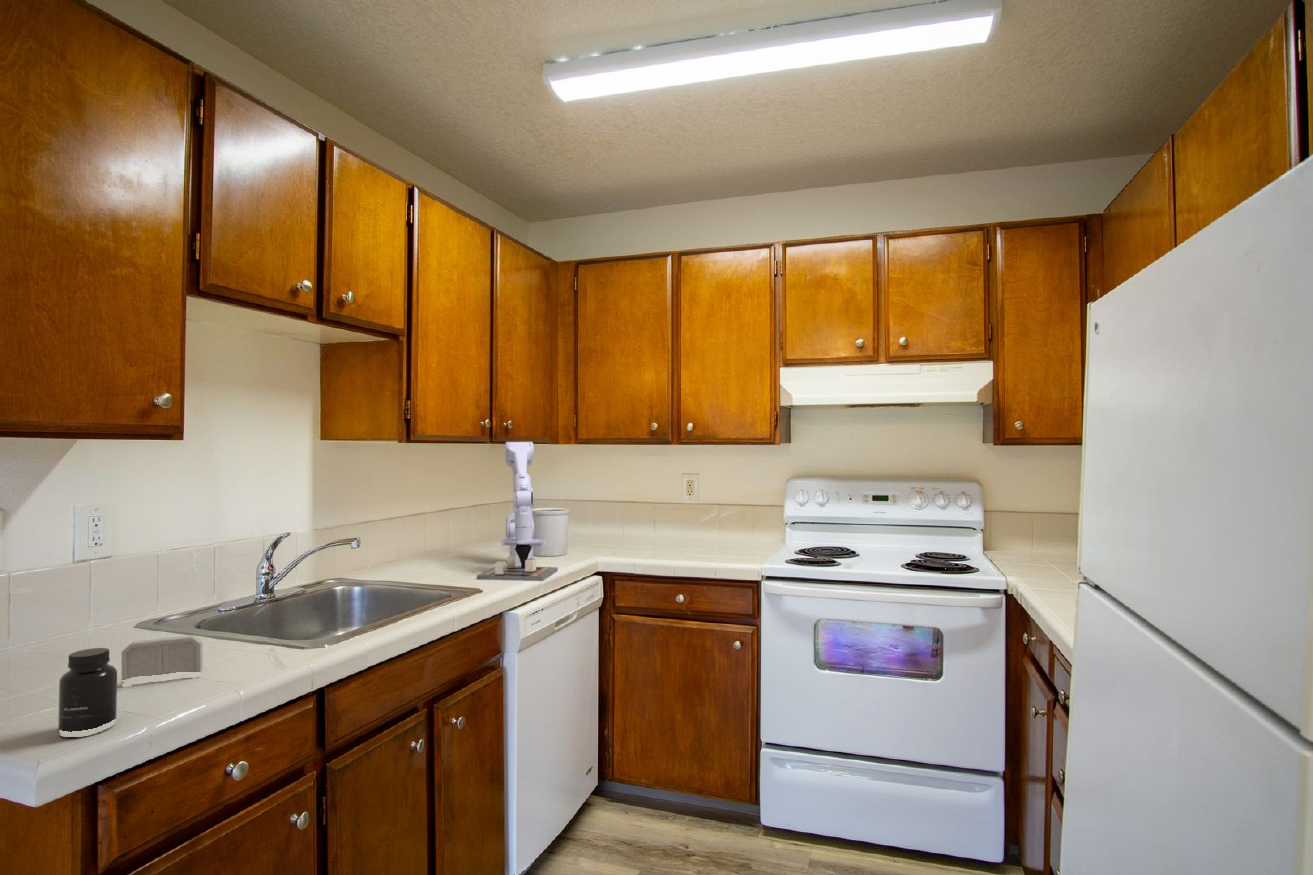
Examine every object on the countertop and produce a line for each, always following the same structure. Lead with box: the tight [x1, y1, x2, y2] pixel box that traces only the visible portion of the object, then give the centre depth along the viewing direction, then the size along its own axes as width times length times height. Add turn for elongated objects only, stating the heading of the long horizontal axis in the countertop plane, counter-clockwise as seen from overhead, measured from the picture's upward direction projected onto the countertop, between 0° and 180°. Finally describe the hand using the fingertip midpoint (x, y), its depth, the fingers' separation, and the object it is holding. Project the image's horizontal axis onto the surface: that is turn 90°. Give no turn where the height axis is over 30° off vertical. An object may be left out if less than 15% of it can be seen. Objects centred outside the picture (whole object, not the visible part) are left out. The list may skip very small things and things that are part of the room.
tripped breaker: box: [525, 557, 537, 572], centre depth 217 cm, size 3×3×4 cm
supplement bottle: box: [58, 647, 118, 732], centre depth 102 cm, size 7×7×12 cm
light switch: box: [121, 634, 203, 681], centre depth 123 cm, size 2×12×8 cm, turn 114°
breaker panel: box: [476, 555, 559, 582], centre depth 218 cm, size 16×22×5 cm
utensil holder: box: [532, 507, 570, 557], centre depth 259 cm, size 15×15×18 cm
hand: (523, 567), depth 218 cm, fingers closed
